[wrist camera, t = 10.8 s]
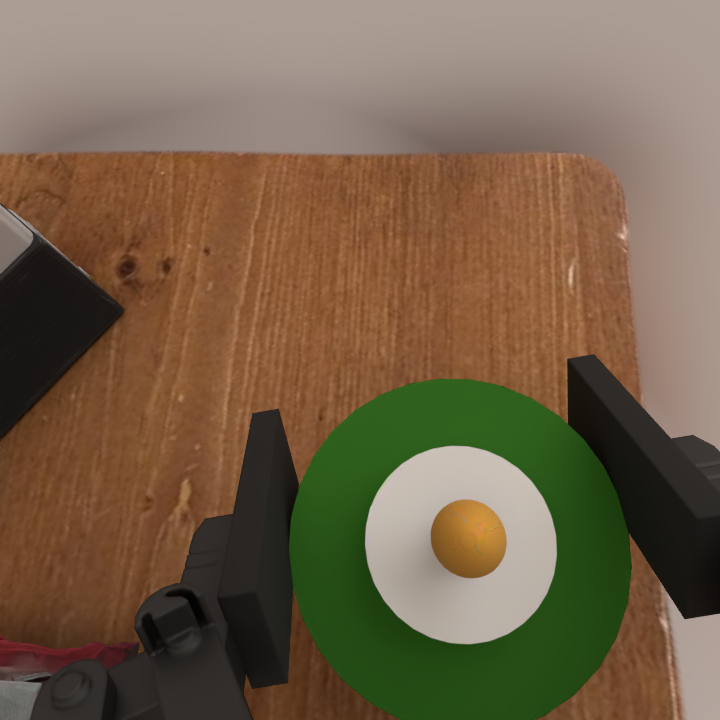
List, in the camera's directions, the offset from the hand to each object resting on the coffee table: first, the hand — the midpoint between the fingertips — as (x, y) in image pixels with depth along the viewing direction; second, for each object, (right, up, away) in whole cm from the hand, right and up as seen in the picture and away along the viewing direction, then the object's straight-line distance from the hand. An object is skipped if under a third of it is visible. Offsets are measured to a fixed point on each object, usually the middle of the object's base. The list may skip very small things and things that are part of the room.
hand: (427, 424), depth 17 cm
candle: (+1, -4, +3) cm, 5 cm away
